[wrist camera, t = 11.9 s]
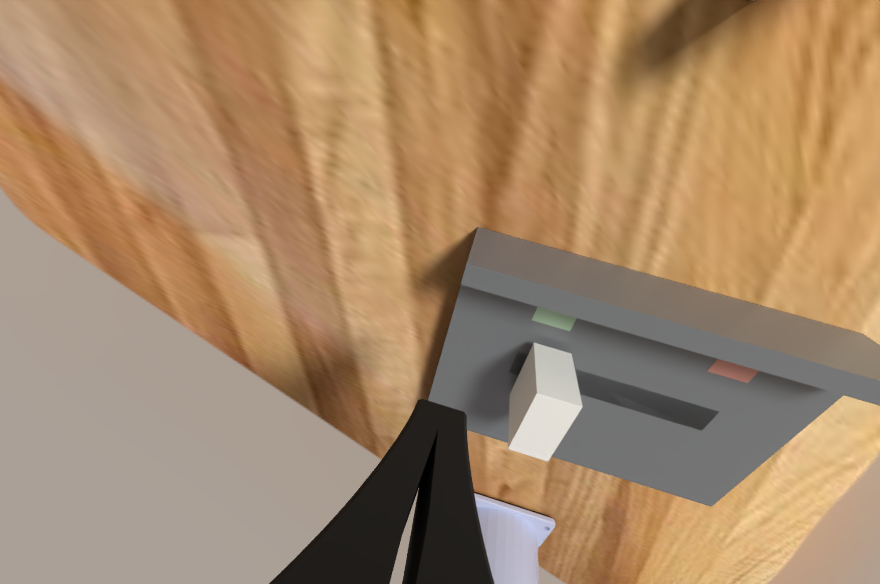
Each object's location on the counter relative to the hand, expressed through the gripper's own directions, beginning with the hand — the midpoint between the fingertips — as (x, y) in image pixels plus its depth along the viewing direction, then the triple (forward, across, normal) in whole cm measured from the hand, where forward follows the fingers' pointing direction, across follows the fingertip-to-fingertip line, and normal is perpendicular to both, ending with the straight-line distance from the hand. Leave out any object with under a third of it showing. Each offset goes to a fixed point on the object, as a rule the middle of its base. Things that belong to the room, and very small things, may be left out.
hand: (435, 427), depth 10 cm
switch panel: (+10, -9, +4) cm, 14 cm away
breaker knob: (+8, -5, +4) cm, 11 cm away
